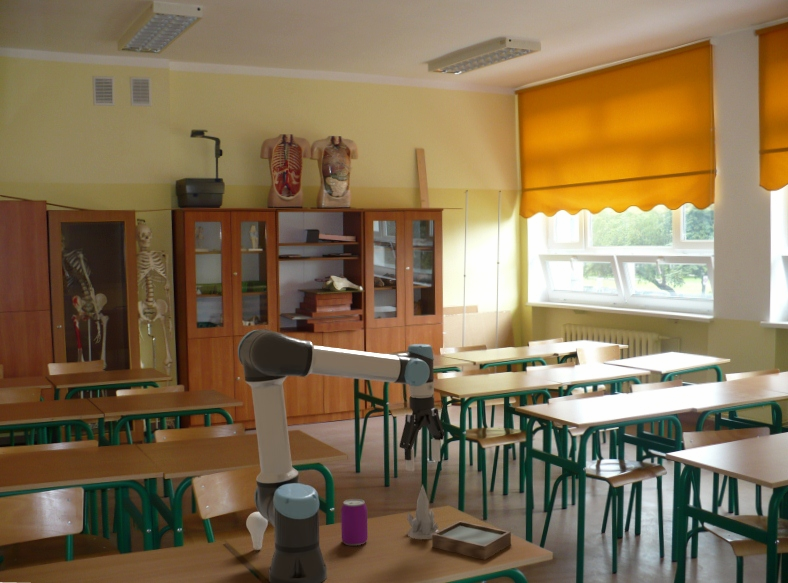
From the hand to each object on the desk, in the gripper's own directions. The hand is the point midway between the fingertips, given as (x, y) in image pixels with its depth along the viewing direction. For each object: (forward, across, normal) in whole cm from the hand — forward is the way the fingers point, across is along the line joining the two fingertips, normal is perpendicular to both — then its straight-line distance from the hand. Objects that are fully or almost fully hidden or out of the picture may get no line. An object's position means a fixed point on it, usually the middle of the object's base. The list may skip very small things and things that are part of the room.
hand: (423, 465), depth 239 cm
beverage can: (+21, -17, +13) cm, 30 cm away
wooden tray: (+21, 0, -17) cm, 27 cm away
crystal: (+21, 0, 0) cm, 21 cm away
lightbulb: (+21, -38, +32) cm, 54 cm away
